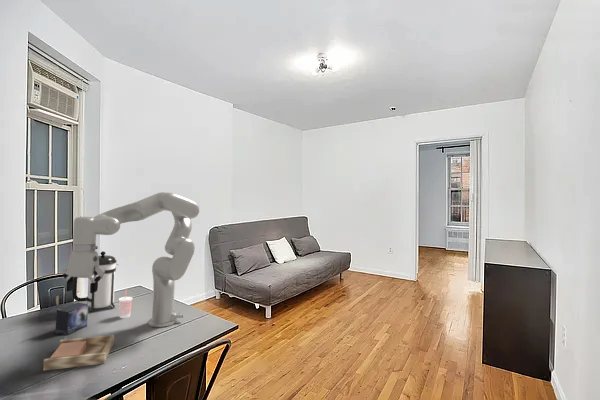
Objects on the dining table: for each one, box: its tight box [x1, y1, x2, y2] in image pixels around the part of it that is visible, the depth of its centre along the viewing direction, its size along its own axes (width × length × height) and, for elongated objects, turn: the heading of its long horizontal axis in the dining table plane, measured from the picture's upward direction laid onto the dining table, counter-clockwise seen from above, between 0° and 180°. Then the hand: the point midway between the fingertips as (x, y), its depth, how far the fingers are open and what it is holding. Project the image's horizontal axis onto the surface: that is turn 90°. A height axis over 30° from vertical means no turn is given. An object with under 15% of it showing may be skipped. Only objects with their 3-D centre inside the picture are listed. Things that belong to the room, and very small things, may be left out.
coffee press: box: [71, 251, 120, 313], centre depth 167 cm, size 17×16×30 cm
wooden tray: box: [42, 334, 115, 371], centre depth 117 cm, size 18×16×4 cm
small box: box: [54, 302, 89, 336], centre depth 140 cm, size 11×6×10 cm, turn 168°
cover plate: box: [49, 341, 86, 358], centre depth 116 cm, size 8×11×3 cm
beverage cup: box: [118, 287, 134, 319], centre depth 158 cm, size 6×6×14 cm
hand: (81, 291), depth 125 cm, fingers open, 9 cm apart
